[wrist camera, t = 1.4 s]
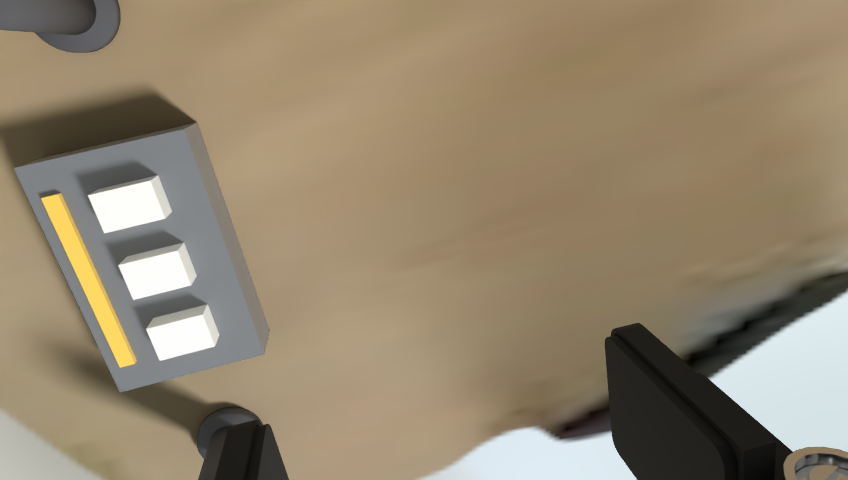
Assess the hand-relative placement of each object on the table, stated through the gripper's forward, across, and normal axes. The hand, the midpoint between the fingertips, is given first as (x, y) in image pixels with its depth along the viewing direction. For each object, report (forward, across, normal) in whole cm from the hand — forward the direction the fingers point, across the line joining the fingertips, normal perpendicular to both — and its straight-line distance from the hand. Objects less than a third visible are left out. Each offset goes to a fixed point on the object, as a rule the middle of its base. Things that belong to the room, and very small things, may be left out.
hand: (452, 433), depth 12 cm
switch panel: (+30, +15, +3) cm, 34 cm away
